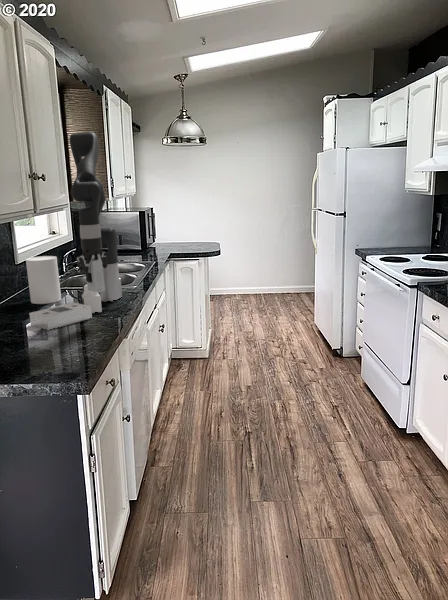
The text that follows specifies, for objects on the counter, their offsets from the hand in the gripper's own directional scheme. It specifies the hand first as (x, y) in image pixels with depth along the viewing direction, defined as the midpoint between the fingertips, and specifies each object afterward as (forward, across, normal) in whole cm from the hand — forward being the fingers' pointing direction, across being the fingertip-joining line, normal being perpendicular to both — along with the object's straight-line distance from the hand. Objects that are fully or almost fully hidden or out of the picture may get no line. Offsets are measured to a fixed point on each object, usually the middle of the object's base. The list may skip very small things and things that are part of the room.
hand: (95, 280), depth 195 cm
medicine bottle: (+17, -10, -17) cm, 26 cm away
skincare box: (+4, 0, 0) cm, 4 cm away
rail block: (+17, +7, -14) cm, 23 cm away
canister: (+18, -11, -53) cm, 57 cm away
